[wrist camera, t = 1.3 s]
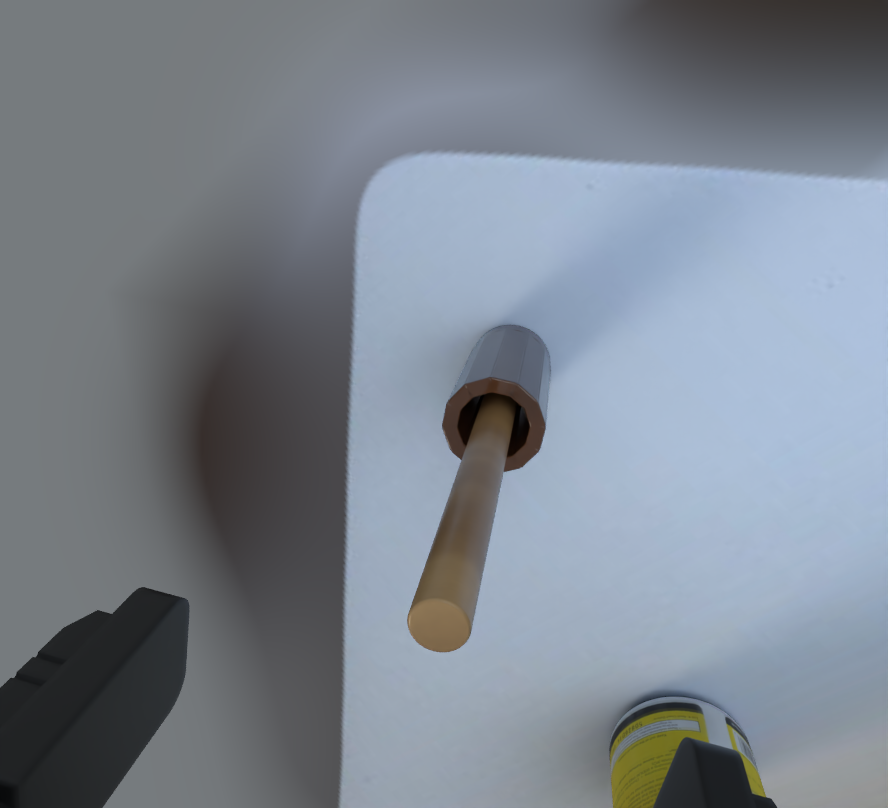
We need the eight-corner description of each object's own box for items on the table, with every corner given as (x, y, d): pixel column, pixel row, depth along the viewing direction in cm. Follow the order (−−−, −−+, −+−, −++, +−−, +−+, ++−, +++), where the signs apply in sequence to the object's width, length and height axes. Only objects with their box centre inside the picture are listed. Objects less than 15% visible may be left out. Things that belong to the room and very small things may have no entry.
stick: (490, 358, 27) (397, 606, 13) (519, 350, 27) (458, 594, 12) (499, 386, 28) (419, 659, 13) (527, 378, 27) (479, 647, 13)
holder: (461, 337, 28) (429, 394, 22) (537, 314, 27) (527, 366, 21) (485, 408, 29) (461, 482, 23) (559, 388, 28) (557, 459, 22)
